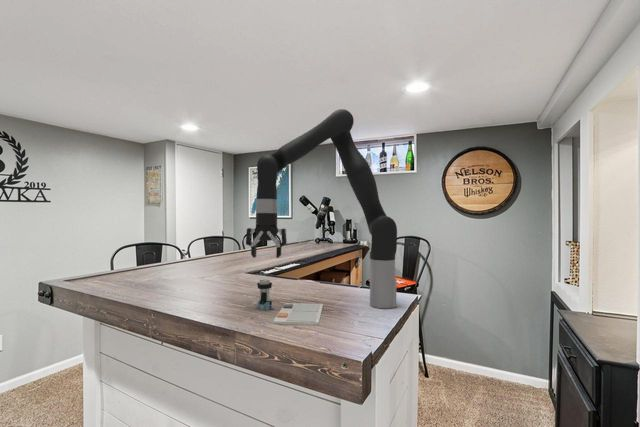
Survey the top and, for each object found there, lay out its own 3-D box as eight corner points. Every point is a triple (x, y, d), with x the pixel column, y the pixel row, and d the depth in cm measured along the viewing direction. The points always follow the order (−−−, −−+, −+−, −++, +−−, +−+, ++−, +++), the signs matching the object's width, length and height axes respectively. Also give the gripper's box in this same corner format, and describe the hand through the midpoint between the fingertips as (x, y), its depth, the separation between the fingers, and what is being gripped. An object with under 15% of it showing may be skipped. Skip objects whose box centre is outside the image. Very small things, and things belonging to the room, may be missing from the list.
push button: (278, 307, 111) (278, 280, 111) (270, 312, 106) (270, 283, 107) (262, 305, 114) (262, 278, 114) (253, 309, 109) (254, 281, 109)
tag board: (322, 306, 114) (322, 302, 114) (318, 325, 94) (318, 320, 94) (285, 305, 115) (285, 301, 115) (273, 323, 95) (273, 319, 95)
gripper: (288, 212, 114) (287, 256, 114) (250, 212, 115) (249, 255, 115) (284, 212, 106) (283, 259, 106) (243, 211, 107) (243, 258, 107)
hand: (266, 257), depth 110 cm, fingers open, 8 cm apart
